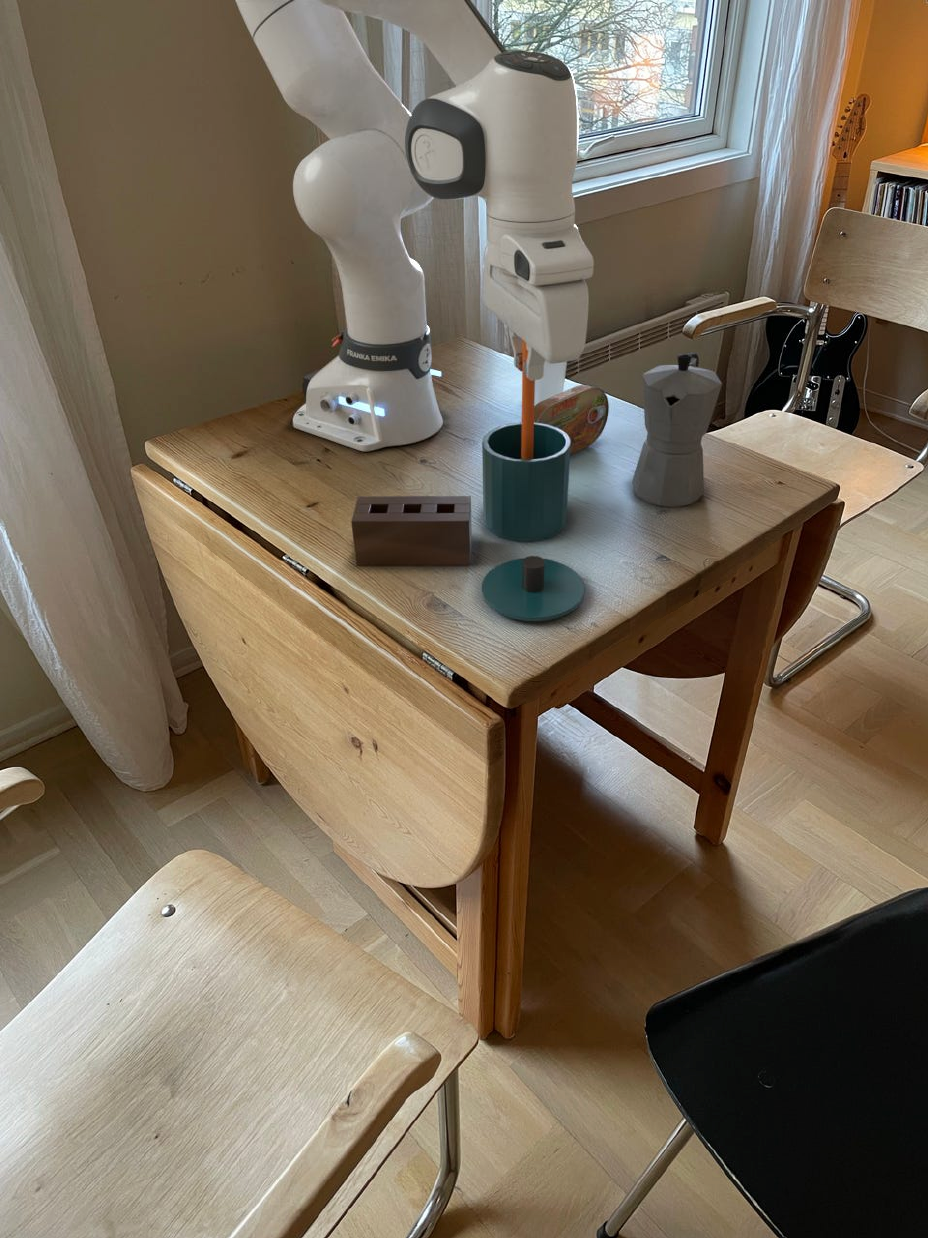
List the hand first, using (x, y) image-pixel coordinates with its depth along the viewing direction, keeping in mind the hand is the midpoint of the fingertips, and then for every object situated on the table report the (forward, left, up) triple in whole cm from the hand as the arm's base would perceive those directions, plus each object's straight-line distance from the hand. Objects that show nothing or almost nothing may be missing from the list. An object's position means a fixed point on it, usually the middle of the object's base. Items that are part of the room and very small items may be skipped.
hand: (528, 373), depth 98 cm
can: (0, 0, -19) cm, 19 cm away
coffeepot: (+14, +15, -19) cm, 28 cm away
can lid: (+7, -14, -18) cm, 24 cm away
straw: (0, 0, -14) cm, 14 cm away
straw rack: (-9, -12, -19) cm, 24 cm away
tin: (-2, +19, -19) cm, 27 cm away
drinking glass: (-10, +32, -19) cm, 39 cm away
